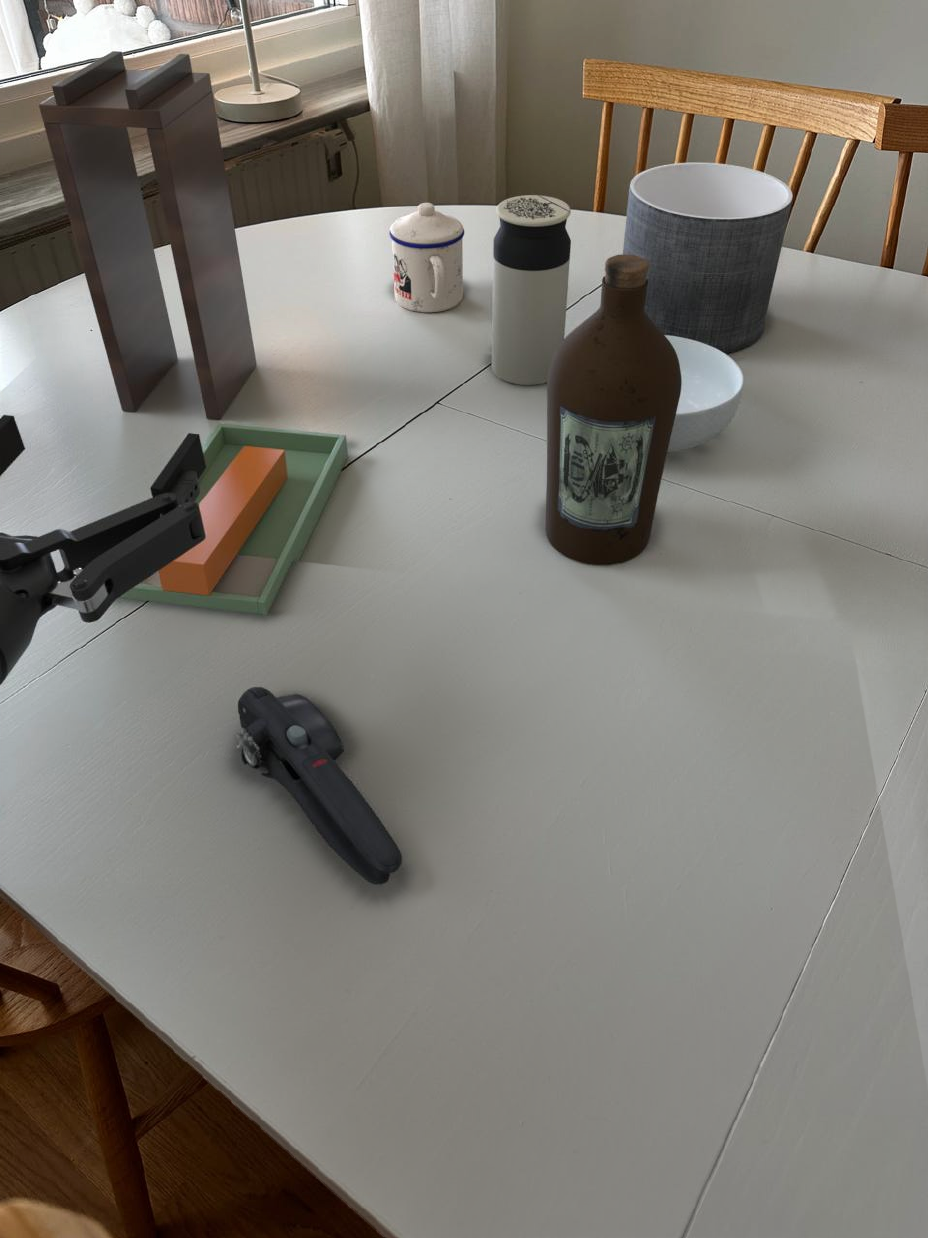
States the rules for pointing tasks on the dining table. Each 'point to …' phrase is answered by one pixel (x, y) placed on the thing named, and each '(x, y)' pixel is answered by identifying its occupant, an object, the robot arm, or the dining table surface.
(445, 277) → the teacup with lid
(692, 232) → the planter
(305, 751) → the can opener
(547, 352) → the travel mug
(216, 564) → the orange rectangular bar
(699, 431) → the cereal bowl
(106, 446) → the dining table surface
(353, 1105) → the dining table surface
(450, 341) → the dining table surface
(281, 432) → the tray
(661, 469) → the olive oil
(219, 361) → the tall brown stand
